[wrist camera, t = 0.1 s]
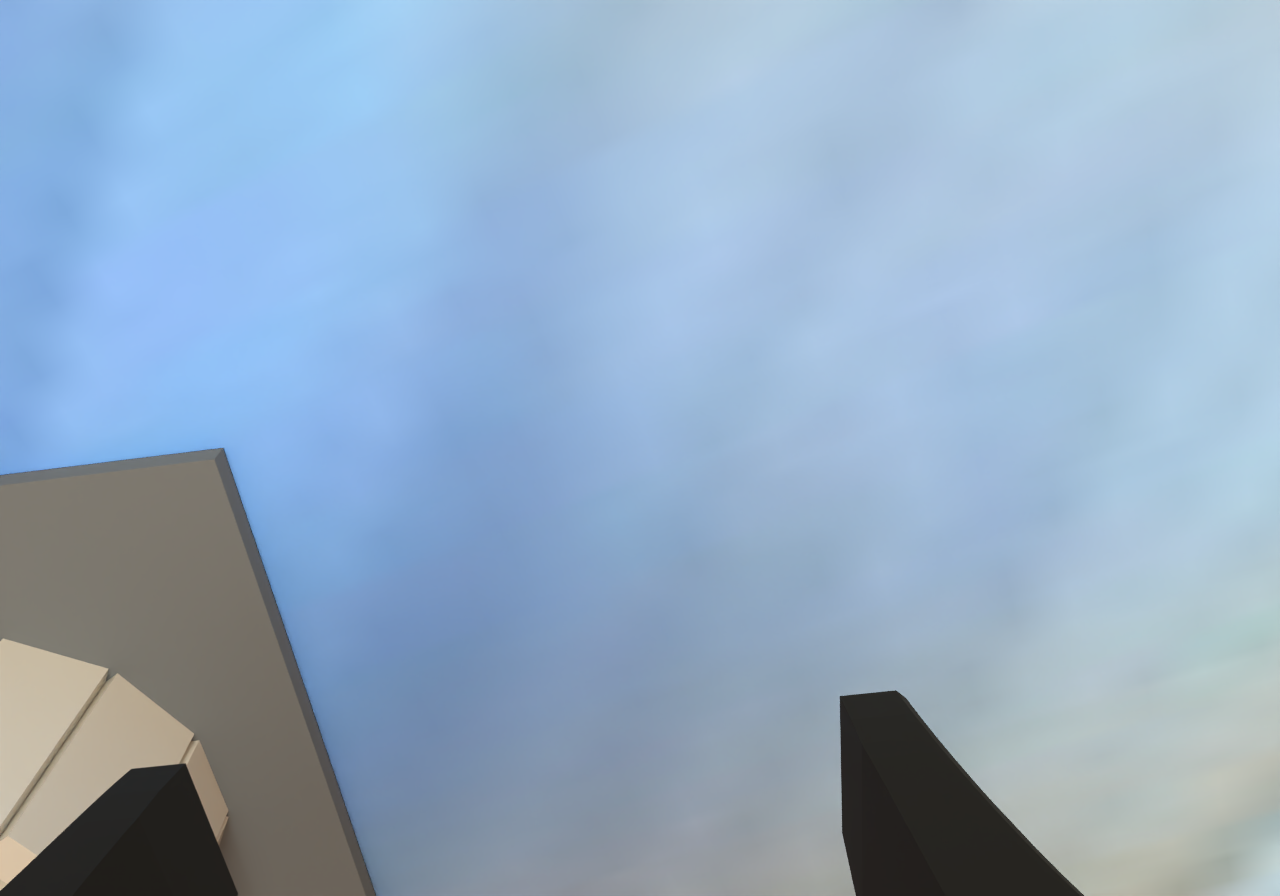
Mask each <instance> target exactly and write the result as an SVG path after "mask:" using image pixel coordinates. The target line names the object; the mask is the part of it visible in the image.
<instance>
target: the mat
mask: <svg viewBox="0 0 1280 896" xmlns="http://www.w3.org/2000/svg"><path fill="white" fill-rule="evenodd" d="M2 639H7V640H10V641H14V642H17V643H21V644H24V645H28V646H31V647H35V648H38V649H42V650H45V651H49V652H52V653H56V654H59V655H62V656H66V657H69V658H73V659H76V660H80V661H83V662H87V663H90V664H94V665H97V666H101V667H104V668H108V673H107V677H106V681H108V680H109V679H110V678H112V677H113V676H114V675H116V674H117V673H118V674H119V675H120V676H122V677H123V678H124V679H125V680H127V681H128V682H129V683H130V684H132V685H133V686H134V687H136V688H137V689H138V690H139V691H141V692H142V693H143V694H144V695H146V696H147V697H148V698H149V699H151V700H152V701H153V702H155V703H156V704H157V705H158V706H160V707H161V708H162V709H163V710H165V711H166V712H167V713H168V714H170V715H171V716H172V717H174V718H175V719H176V720H177V721H179V722H180V723H181V724H182V725H184V726H185V727H186V728H188V729H189V730H190V731H191V732H193V733H194V736H193V738H192V739H191V741H197V740H200V743H201V745H202V748H203V750H204V753H205V755H206V757H207V760H208V762H209V765H210V767H211V770H212V772H213V774H214V777H215V779H216V782H217V784H218V786H219V789H220V791H221V794H222V796H223V799H224V801H225V803H226V806H227V808H228V813H227V815H226V816H227V817H229V818H228V821H227V824H226V827H225V829H224V832H223V835H222V838H221V841H220V844H219V847H220V850H221V852H222V855H223V857H224V860H225V862H226V865H227V867H228V870H229V872H230V875H231V877H232V880H233V882H234V885H235V887H236V890H237V892H238V896H376V895H375V892H374V889H373V886H372V883H371V881H370V878H369V875H368V872H367V869H366V866H365V863H364V860H363V857H362V854H361V851H360V848H359V845H358V842H357V840H356V837H355V834H354V831H353V828H352V825H351V822H350V819H349V816H348V813H347V810H346V807H345V804H344V801H343V798H342V796H341V793H340V790H339V787H338V784H337V781H336V778H335V775H334V772H333V769H332V766H331V763H330V760H329V757H328V754H327V752H326V749H325V746H324V743H323V740H322V737H321V734H320V731H319V728H318V725H317V722H316V719H315V716H314V713H313V710H312V708H311V705H310V702H309V699H308V696H307V693H306V690H305V687H304V684H303V681H302V678H301V675H300V672H299V669H298V667H297V664H296V661H295V658H294V655H293V652H292V649H291V646H290V643H289V640H288V637H287V634H286V631H285V628H284V625H283V623H282V620H281V617H280V614H279V611H278V608H277V605H276V602H275V599H274V596H273V593H272V590H271V587H270V584H269V581H268V579H267V576H266V573H265V570H264V567H263V564H262V561H261V558H260V555H259V552H258V549H257V546H256V543H255V540H254V537H253V535H252V532H251V529H250V526H249V523H248V520H247V517H246V514H245V511H244V508H243V505H242V502H241V499H240V496H239V494H238V491H237V488H236V485H235V482H234V479H233V476H232V473H231V470H230V467H229V464H228V461H227V458H226V455H225V452H224V450H223V448H219V449H211V450H203V451H195V452H186V453H178V454H170V455H162V456H154V457H146V458H137V459H129V460H121V461H113V462H105V463H97V464H89V465H80V466H72V467H64V468H56V469H48V470H40V471H31V472H23V473H15V474H7V475H0V641H1V640H2Z"/></svg>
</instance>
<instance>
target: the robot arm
mask: <svg viewBox="0 0 1280 896" xmlns="http://www.w3.org/2000/svg"><path fill="white" fill-rule="evenodd" d="M840 726H841V782H842V833H843V838H844V843H845V847H846V852H847V856H848V861H849V866H850V870H851V875H852V880H853V884H854V889H855V893H856V896H1084V895H1083V894H1082V893H1081V892H1080V891H1079V890H1078V889H1077V888H1076V887H1074V886H1073V885H1072V884H1071V883H1070V882H1069V881H1068V880H1067V879H1066V878H1065V877H1064V876H1063V875H1062V874H1061V873H1060V872H1059V871H1058V870H1057V869H1056V868H1055V867H1054V866H1053V865H1052V864H1051V863H1050V862H1049V861H1048V860H1047V859H1046V858H1045V857H1044V856H1043V855H1042V854H1041V853H1040V852H1039V851H1038V850H1037V849H1036V848H1035V847H1034V846H1033V845H1032V844H1031V842H1030V841H1029V840H1028V839H1027V838H1026V837H1025V836H1024V835H1023V834H1022V833H1021V832H1020V831H1019V830H1018V829H1017V828H1016V827H1015V825H1014V824H1013V823H1012V822H1011V821H1010V820H1009V819H1008V818H1007V817H1006V816H1005V815H1004V814H1003V813H1002V812H1001V811H1000V810H999V808H998V807H997V806H996V805H995V804H994V803H993V802H992V801H991V800H990V799H989V798H988V797H987V795H986V794H985V793H984V792H983V791H982V790H981V789H980V788H979V786H978V785H977V784H976V783H975V782H974V781H973V780H972V779H971V777H970V776H969V775H968V774H967V773H966V772H965V770H964V769H963V768H962V767H961V766H960V765H959V763H958V762H957V761H956V760H955V759H954V758H953V756H952V755H951V754H950V753H949V752H948V750H947V749H946V748H945V747H944V746H943V744H942V743H941V742H940V741H939V740H938V738H937V737H936V736H935V735H934V733H933V732H932V731H931V730H930V729H929V727H928V726H927V725H926V723H925V722H924V721H923V720H922V718H921V717H920V716H919V715H918V713H917V712H916V711H915V709H914V708H913V707H912V706H911V704H910V703H909V702H908V700H907V699H906V698H905V697H904V696H902V695H901V694H900V693H899V692H897V691H887V692H877V693H867V694H857V695H847V696H840ZM0 896H238V892H237V890H236V887H235V885H234V882H233V880H232V877H231V875H230V872H229V870H228V867H227V865H226V862H225V860H224V857H223V855H222V852H221V850H220V847H219V845H218V842H217V840H216V838H215V835H214V833H213V830H212V828H211V825H210V823H209V820H208V818H207V815H206V813H205V810H204V808H203V805H202V803H201V800H200V798H199V795H198V793H197V790H196V788H195V785H194V783H193V780H192V778H191V776H190V773H189V771H188V768H187V766H186V763H183V764H174V765H164V766H154V767H144V768H135V769H130V770H129V771H128V772H127V773H126V774H125V775H124V776H122V777H121V778H120V779H119V780H118V781H117V782H115V783H114V784H113V785H112V786H111V787H110V788H109V789H108V790H107V791H105V792H104V793H103V794H102V795H101V796H100V797H99V798H98V799H97V800H96V801H95V802H94V803H92V804H91V805H90V806H89V807H88V808H87V809H86V810H85V811H84V812H83V813H82V814H81V815H80V816H79V817H78V818H77V819H75V820H74V821H73V822H72V823H71V824H70V825H69V826H68V827H67V828H66V829H65V830H64V831H63V832H62V833H61V834H60V835H59V836H58V837H57V838H55V839H54V840H53V841H52V842H51V843H50V844H49V845H48V846H47V847H46V848H45V849H44V850H43V851H42V852H41V853H40V854H39V855H38V856H37V857H36V858H34V859H33V860H32V861H31V862H30V863H29V864H28V865H27V866H26V867H25V868H24V869H23V870H22V871H21V872H20V873H19V874H18V875H16V876H15V877H14V878H13V879H12V880H11V881H10V882H9V883H8V884H7V885H6V886H5V887H4V888H3V889H2V890H0Z"/></svg>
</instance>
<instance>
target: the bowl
mask: <svg viewBox="0 0 1280 896" xmlns="http://www.w3.org/2000/svg"><path fill="white" fill-rule="evenodd" d="M107 673H108V668H104V667H101V666H97V665H94V664H90V663H87V662H83V661H80V660H76V659H73V658H69V657H66V656H62V655H59V654H56V653H52V652H49V651H45V650H42V649H38V648H35V647H31V646H28V645H24V644H21V643H17V642H14V641H10V640H7V639H2V640H1V641H0V890H2V889H3V888H4V887H5V886H6V885H7V884H8V883H9V882H10V881H11V880H12V879H13V878H14V877H15V876H16V875H18V874H19V873H20V872H21V871H22V870H23V869H24V868H25V867H26V866H27V865H28V864H29V863H30V862H31V861H32V860H33V859H34V858H36V857H37V856H38V855H39V854H40V853H41V852H42V851H43V850H44V849H45V848H46V847H47V846H48V845H49V844H50V843H51V842H52V841H53V840H54V839H55V838H57V837H58V836H59V835H60V834H61V833H62V832H63V831H64V830H65V829H66V828H67V827H68V826H69V825H70V824H71V823H72V822H73V821H74V820H75V819H77V818H78V817H79V816H80V815H81V814H82V813H83V812H84V811H85V810H86V809H87V808H88V807H89V806H90V805H91V804H92V803H94V802H95V801H96V800H97V799H98V798H99V797H100V796H101V795H102V794H103V793H104V792H105V791H107V790H108V789H109V788H110V787H111V786H112V785H113V784H114V783H115V782H117V781H118V780H119V779H120V778H121V777H122V776H124V775H125V774H126V773H127V772H128V771H129V770H130V769H135V768H144V767H154V766H164V765H174V764H183V763H186V766H187V768H188V771H189V773H190V776H191V778H192V780H193V783H194V785H195V788H196V790H197V793H198V795H199V798H200V800H201V803H202V805H203V808H204V810H205V813H206V815H207V818H208V820H209V823H210V825H211V828H212V830H213V833H214V835H215V838H216V840H217V842H218V845H219V844H220V841H221V838H222V835H223V832H224V829H225V827H226V824H227V821H228V818H229V817H227V816H226V815H227V813H228V808H227V806H226V803H225V801H224V799H223V796H222V794H221V791H220V789H219V786H218V784H217V782H216V779H215V777H214V774H213V772H212V770H211V767H210V765H209V762H208V760H207V757H206V755H205V753H204V750H203V748H202V745H201V743H200V740H197V741H191V739H192V738H193V736H194V733H193V732H191V731H190V730H189V729H188V728H186V727H185V726H184V725H182V724H181V723H180V722H179V721H177V720H176V719H175V718H174V717H172V716H171V715H170V714H168V713H167V712H166V711H165V710H163V709H162V708H161V707H160V706H158V705H157V704H156V703H155V702H153V701H152V700H151V699H149V698H148V697H147V696H146V695H144V694H143V693H142V692H141V691H139V690H138V689H137V688H136V687H134V686H133V685H132V684H130V683H129V682H128V681H127V680H125V679H124V678H123V677H122V676H120V675H119V674H118V673H117V674H116V675H114V676H113V677H112V678H110V679H109V680H108V681H106V677H107Z"/></svg>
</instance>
